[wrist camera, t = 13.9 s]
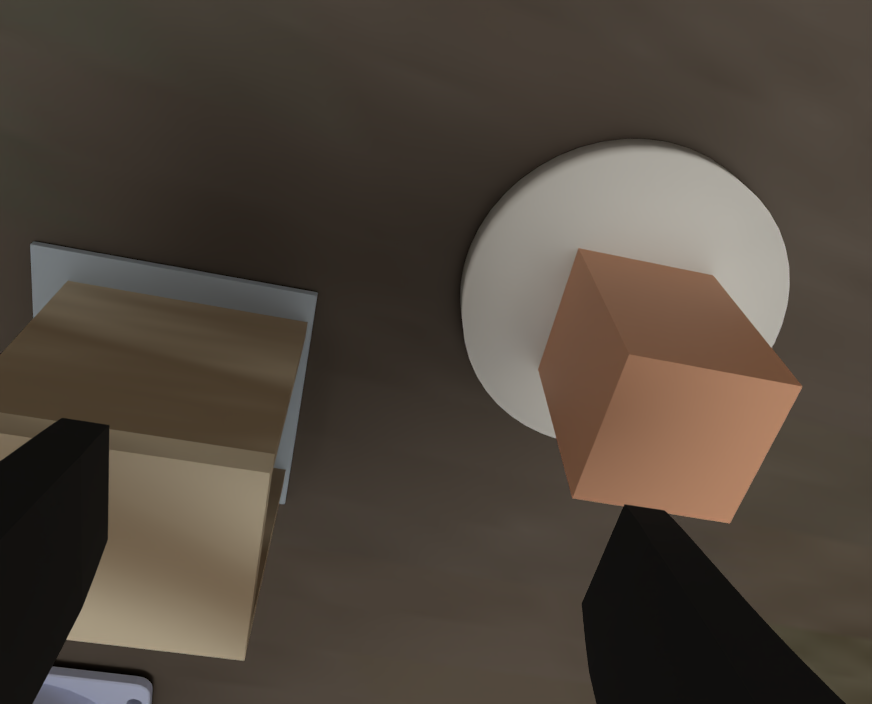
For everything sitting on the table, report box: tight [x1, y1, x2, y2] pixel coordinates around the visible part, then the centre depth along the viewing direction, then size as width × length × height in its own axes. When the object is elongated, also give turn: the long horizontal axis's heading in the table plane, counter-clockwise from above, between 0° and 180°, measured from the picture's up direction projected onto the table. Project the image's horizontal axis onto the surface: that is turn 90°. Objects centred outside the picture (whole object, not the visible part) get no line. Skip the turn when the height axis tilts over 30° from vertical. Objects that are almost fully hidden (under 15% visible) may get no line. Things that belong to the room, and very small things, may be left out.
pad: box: [30, 241, 318, 504], centre depth 21 cm, size 7×7×1 cm
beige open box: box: [0, 281, 308, 661], centre depth 19 cm, size 5×6×6 cm
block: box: [538, 248, 802, 523], centre depth 17 cm, size 3×3×5 cm
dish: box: [460, 139, 790, 438], centre depth 20 cm, size 8×8×1 cm
